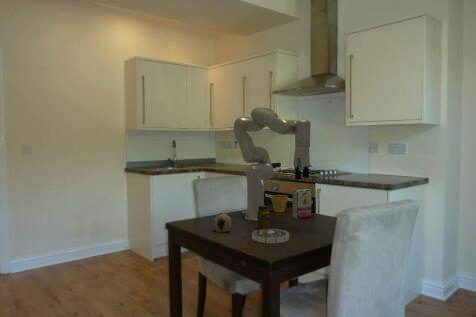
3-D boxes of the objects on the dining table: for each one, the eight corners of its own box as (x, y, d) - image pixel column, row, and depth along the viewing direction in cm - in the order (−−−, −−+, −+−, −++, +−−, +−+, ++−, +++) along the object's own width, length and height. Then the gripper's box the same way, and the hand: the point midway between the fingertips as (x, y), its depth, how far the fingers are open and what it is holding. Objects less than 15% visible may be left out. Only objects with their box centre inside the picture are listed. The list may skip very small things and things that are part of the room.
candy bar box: (306, 215, 226) (306, 188, 226) (312, 217, 222) (312, 189, 221) (291, 217, 221) (292, 189, 220) (297, 219, 217) (297, 191, 216)
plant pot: (277, 213, 233) (277, 197, 233) (268, 210, 242) (268, 195, 242) (290, 212, 238) (290, 196, 238) (281, 209, 247) (281, 194, 247)
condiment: (272, 230, 191) (272, 206, 190) (259, 232, 186) (259, 208, 186) (264, 227, 197) (264, 204, 197) (250, 229, 193) (250, 206, 192)
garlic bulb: (215, 235, 190) (210, 215, 192) (230, 230, 193) (225, 212, 195) (219, 233, 182) (214, 213, 184) (235, 229, 185) (230, 209, 186)
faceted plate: (245, 239, 173) (245, 234, 173) (264, 232, 187) (264, 227, 187) (277, 245, 163) (277, 239, 163) (295, 237, 177) (295, 232, 177)
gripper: (302, 144, 199) (301, 176, 201) (288, 144, 185) (287, 179, 186) (315, 144, 195) (315, 177, 196) (302, 145, 181) (302, 180, 182)
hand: (302, 178), depth 191 cm, fingers open, 9 cm apart
